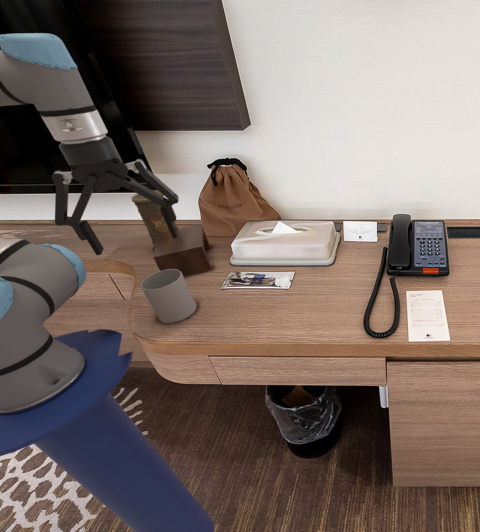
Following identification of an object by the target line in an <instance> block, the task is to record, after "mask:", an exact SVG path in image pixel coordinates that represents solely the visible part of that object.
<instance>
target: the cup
mask: <svg viewBox="0 0 480 532" xmlns="http://www.w3.org/2000/svg"><path fill="white" fill-rule="evenodd" d="M140 289H141V290H142V292H143V294H144V295H145V297H146V299H147V300H148V303H149V304H150V306H151V308H152V310H153V311H154V313H155V315H156V316H157V318H158V320H159V321H160V322H161V323H162V324H163V323H164V324H173V323H178V322H181V321H183V320H185V319H188V318H189V317H190V316H191V315H193V314H194V313H195V311H196V310H197V302H196V301H195V298H194V296H193V294H192V291H191V290H190V288H189V286H188V283H187V281H186V279H185V276H184V277H183V275H182V273H181V271H179V270H177V269H167V270H162V271H160V270H159V271H157V272H153V273H151V274H149V275H148V276H146V277H144V279H143V280H142V281H141V282H140Z"/></svg>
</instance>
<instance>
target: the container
mask: <svg viewBox="0 0 480 532" xmlns="http://www.w3.org/2000/svg"><path fill="white" fill-rule="evenodd" d="M151 190H152V191H154V192H156V193H158V194H159V195H161V196H163V197H165V196H164V195H163V194H162V193H161V192H159V191H158V190H157V189H151ZM131 201H132V203H134V206H135V207H136V208H137V212H138V213H139V216H140V217H141V220H142V221H143V223H144V226H145V227H146V230H147V232H148V236H149V238H150V239H151V245H152V246H153V250H155V247H156V243H157V239H158V234H159V233H162V232H167V231H170V230H169V228H168V226H167V224H166V222H165V219H164V217H163V215H162V213H161V211H160V210H161V206H160V205H158V204H156V203H154V202H152V201H151V200H149V199H147V198H145V197H143V196H141V195H139V194H137V193H135V194H134V195H132V196H131ZM173 223H174V226H175V228H176V230H177V229H179V227H178V226H177V224H176V221H174V222H173Z"/></svg>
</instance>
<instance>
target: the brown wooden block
mask: <svg viewBox="0 0 480 532" xmlns="http://www.w3.org/2000/svg"><path fill="white" fill-rule="evenodd" d="M177 232H178V233H177V238H173V237H172V235H171V232H170V231H167V232H162V233H159V234H158V239H157V243H156V247H155V249H154V252H153V256H152V259H153V260H154V262H155V264H156V265H157V268H158V269H159V271H162V270H167V269H177V270H179V271H181V273H182V275H183V277H184V278H185V277H187V276H191V275H195V274H199V273H203V272H207V271H210V270H211V271H212V265H211V263H210V260H209V258H208V255H207V253H206V250H208V249H209V250H210V249H211V244H210V242H209V241H210V240H209V239H208V236H207V234H206V231H205V229H204V226H203V224H195V225H192V226H187V227H182V228H178V229H177Z"/></svg>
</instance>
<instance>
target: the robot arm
mask: <svg viewBox="0 0 480 532" xmlns="http://www.w3.org/2000/svg"><path fill="white" fill-rule="evenodd" d="M19 105H20V106H21V105H34V107H35V109H36V110H37V112H38V113H39V115H40V117H41V119H42V121H43V122H44V124H45V126H46V127H47V129H48V130H49V132H50V134H51V136H52V137H53V139H54V140H55V141H57V142H60V143H59V144H58V148H59V150H60V151H61V154H62V155H63V157H64V159H65V160H66V163H67V165H68V166H69V167H70V169H71V170H70V171H63V170H60V169H59V170H58V169H57V170H55V172H53V174H51V181H52V182H53V184H54V186H55V199H54V200H55V204H54V224H55V225H56V226H58V227H59V226H60V227H61V226H69V227H71V228H72V229H73V231H74V232H75V234H76V236H77V238H78V239H79V240H81V241H87V242H88V244H89V246H90V247H91V249H92V251H93V252H94V253H95V256H100V255H102V254H103V251H104V247H103V245H102V243H101V242H100V240H99V238H98V236H97V235H96V232H95V231H94V230H93V228H92V226H91V225H90V223H89V222H88V220H87V219H86V220H82V217H83V215H84V212H86V211H85V210H86V208H87V206H88V204H89V202H90V199H91V197H92V195H93V192H94V191H95V192H99V193H104V192H107V191H116V190H120V189H121V188H122V187H123V188H125V189H126V190H129V191H132V192H134V193H135V194H139V195H141V196H143V197H145V198H147V199H149V200H151V201H152V202H154V203H156V204H158V205H160V206H161V210H160V211H161V213H162V215H163V217H164V219H165V222H166V224H167V226H168V228H169V230H170V232H171V235H172V237H173V238H177V233H178V232H177V230H176V228H175V226H174V223H173V222H174V221H175V222H177V214H176V213H175V209H174V208H173V206H174V205H175V204H176V205H177V204H178V203H179V200H180V199H179V195H178V194H177V193H176V192H174V191H173V190H172V189H171V188H170V187H169V186H167V184H166V183H164V182H163V181H162V180H161V179H160V178H158V176H156V174H155V173H153V172H151V170H150V169H148V167H147V165H146V163H145V161H144V160H143V159H141V158H137V159H136V160H135V161H131V162H127V163H126V162H124V161H123V159H122V157H121V156H120V154H119V152H118V150H117V148H116V146H115V144H114V141H113V139H112V138H111V137H109V136H107V134H108V132H109V131H108V129H107V127H106V125H105V123H104V121H103V119H102V117H101V115H100V112H99V111H98V109H97V107H96V105H95V104H94V102H93V100H92V98H91V95H90V93H89V91H88V89H87V86H86V84H85V83H84V80H83V78H82V75H81V74H80V72H79V69H78V65H77V64H76V63H75V62H74V60H73V58H72V56H71V54H70V52H69V51H68V48H67V47H66V45H65V43H64V41H63V40H62V39H61V38H60V37H59V36H57V35H55V34H52V33H44V32H40V33H39V32H33V33H32V32H31V33H30V32H28V33H27V32H26V33H20V32H19V33H5V34H3V33H2V34H0V107H8V106H19ZM129 170H130V171H133V172H134V173H135V174H139V175H140V176H141V177H142V178H143V179H144V180H145V181H147V183H149V184H150V185H151V186H152V187H154V189H155V190H158V191H159V192H161V193H162V194H163V195H164V196H161V195H159V194H158V193H156V192H154V191H152V190H153V189H150V188H149V187H148V186H145V185H143V184H142V183H139V182H138V181H136V180H135V179H134V178H133V177H130V176H129V175H128V173H129ZM72 179H73V180H75V181H77V182H78V183H80V184H81V185H84V186H83V188H82V190H81V193H80V195H79V198H78V200H77V202H76V205H75V207H74V209H73V212H72V213H71V216H69V215H68V211H69V209H68V208H69V185H70V183H71V182H72ZM87 274H88V273H87V269H86V268H85V263H84V262H83V261H82V259H81V258H80V257H79V256H78V255H77V254H76V253H75V252H73V251H72V250H71V249H69V248H67V247H65V246H62V245H60V244H56V243H53V244H50V243H42V244H38V245H36V244H34V243H32V242H31V241H29V240H27V239H25V238H6V237H4V236H2V235H0V415H14V414H19V413H23V412H27V411H30V410H32V409H35V408H37V407H40V406H42V405H44V404H46V403H48V402H50V401H51V400H53V399H55V398H56V397H58V396H60V395H61V394H63V393H64V392H65V391H67V390H68V389H69V388H70V387H71V386H73V385H74V384H75V383H76V382H77V381H78V380H79V378H80V377H81V376H82V375H83V373H84V371H85V369H86V366H87V362H86V359H85V358H84V357H83V355H82V354H81V353H79V352H78V351H77V349H76V348H75V347H74V348H71V347H69V346H67V345H65V344H64V343H62V342H60V341H58V340H56V339H54V338H55V337H53V335H52V334H51V333H50V332H49V330H48V329H47V328H46V327H45V325H44V323H45V322H46V321H47V320H48V319H49V318H50V317H51V316H52V315H53V314H54V313H56V312H57V311H58V310H59V309H60V308H61V307H62V306H63V305H64V304H65V303H66V302H67V301H69V299H70V298H72V297H75V295H76V294H77V293H78V291H79V290H80V289H81V288H82V286H83V285H84V284H85V282H86V281H87Z"/></svg>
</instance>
